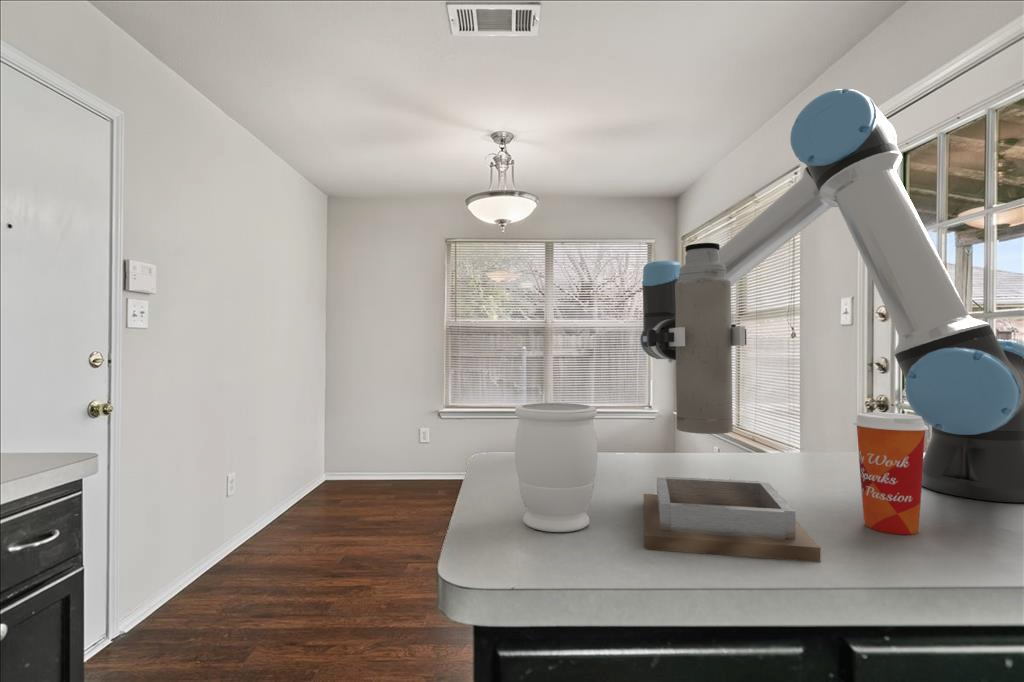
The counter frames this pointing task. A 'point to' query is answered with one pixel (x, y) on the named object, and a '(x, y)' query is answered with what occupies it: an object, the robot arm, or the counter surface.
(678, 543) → the walnut dock board
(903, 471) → the paper cup
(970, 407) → the robot arm
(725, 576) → the counter surface
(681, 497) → the steel collar
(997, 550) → the counter surface
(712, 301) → the thermos bottle
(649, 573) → the counter surface
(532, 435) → the jar
